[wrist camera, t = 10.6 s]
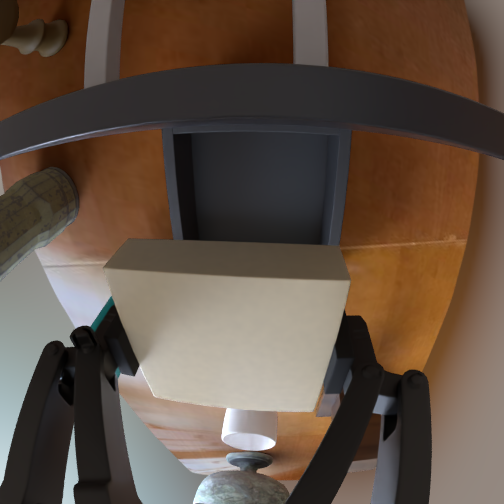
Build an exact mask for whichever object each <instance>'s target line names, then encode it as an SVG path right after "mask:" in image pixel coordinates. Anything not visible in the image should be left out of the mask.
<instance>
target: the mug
mask: <svg viewBox="0 0 504 504" xmlns="http://www.w3.org/2000/svg"><path fill="white" fill-rule="evenodd" d="M277 424H278V416H277V411H257V410H243V409H232V408H227V411H226V415H225V420H224V425H223V431H222V440H223V442H224V443H226V444H227V445H229V446H231V447H234V448H237V449H241V450H249V451H260V450H266V449H270V448H272V447H273V446H274V445H275V444H276V441H277Z"/></svg>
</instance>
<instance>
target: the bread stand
mask: <svg viewBox="0 0 504 504" xmlns="http://www.w3.org/2000/svg"><path fill="white" fill-rule="evenodd" d="M343 397H344V390H343V389H342V392H341V394H324V389H323V392H322V395H321V398H320V401H319V403H318V406H317V409H316V417H330V416H331V418H332V420H333V418H334V416H335V414H336V412H337V410H338V408H339V406H340V404H341V401H342V399H343ZM380 428H381V414H376V413H372V416H371V419H370V421H369V424H368V426H367V429H366V431H365V434H364V436H363V439H362V441H361V443H360V446H359V448H358V450H357V453H356V455H355V457H354V459H353V462H352V464H351V466H350V468H349V470H348V472H357V471H365V470H372V469H374V468H375V467H376V466H377V458H378V450H379V440H380ZM348 472H347V473H348Z"/></svg>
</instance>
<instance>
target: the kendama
mask: <svg viewBox="0 0 504 504" xmlns="http://www.w3.org/2000/svg"><path fill="white" fill-rule="evenodd" d="M18 18H19V7H18V4H17V1H16V0H0V45H1V44H2V45H8V46H13V47H16V48H18V49H19V51H20V53H22V54H29V53H32V52H33V51H39V53H40V55H41V56H44V57H49V56H53V55H54V54H56V53H57V52H58V51H59V50H60V49H61V48H62V47H63V46H64V43H65V41H66V39H67V34H68V25H67V23H66V22H65V20H60V19H59V20H56V21H53V22H51V23H48V24H45V23H44V21H43V20H41V19H37V20H34V21H32V22H31V23H29V24H28V25H24V26H18V27H16V26H17V22H18Z"/></svg>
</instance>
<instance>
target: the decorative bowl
mask: <svg viewBox="0 0 504 504" xmlns="http://www.w3.org/2000/svg"><path fill="white" fill-rule="evenodd" d="M226 459H227V461H228V462H229V463H230V464H232V465H234V466H237V467H240V469H241V470H240V471H220V472H216V473H213V474H211V475H209V476H207V477H206V478H205V479H204V480H203V481H202V483H201V484H200V486H199V488H198V490H197V492H196V496H195V499H194V502H193V504H284V503H285V502H286V500H287V499H288V497H289V496H290V495H289V492H288V490H287V489H286V487H285V486H284V485H283V484H281V483H280V482H278V481H277V480H275V479H273V478H271V477H269V476H266V475H264V474H259V473H256V471H257V470H258V469H259V468H265V467H267V466H269V465H271V464H272V462H273V458H272V457H271V456H270V455H267V454H264V453H259V452H233V453H229V454H228V455H227V456H226Z"/></svg>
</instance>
